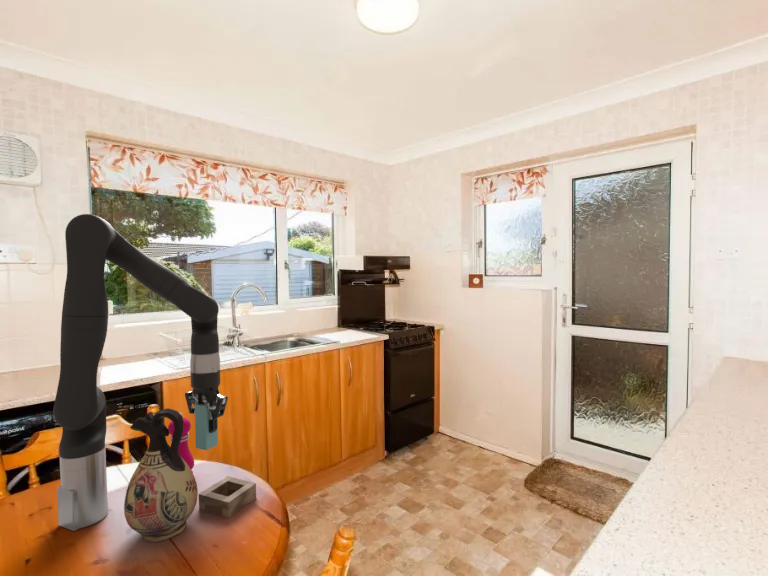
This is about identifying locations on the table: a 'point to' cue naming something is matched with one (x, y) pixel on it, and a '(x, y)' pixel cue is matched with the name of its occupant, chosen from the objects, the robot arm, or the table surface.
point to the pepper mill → (183, 442)
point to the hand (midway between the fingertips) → (206, 430)
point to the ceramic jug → (160, 482)
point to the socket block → (223, 505)
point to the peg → (204, 428)
